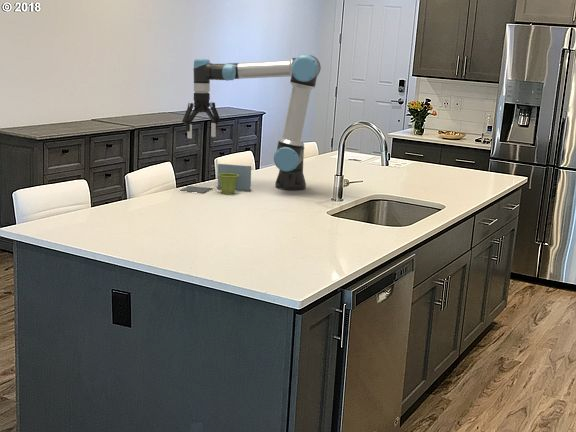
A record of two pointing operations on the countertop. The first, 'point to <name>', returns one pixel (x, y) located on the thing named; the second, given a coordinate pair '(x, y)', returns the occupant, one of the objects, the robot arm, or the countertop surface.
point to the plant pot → (228, 182)
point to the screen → (243, 178)
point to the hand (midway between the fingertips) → (201, 137)
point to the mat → (196, 189)
